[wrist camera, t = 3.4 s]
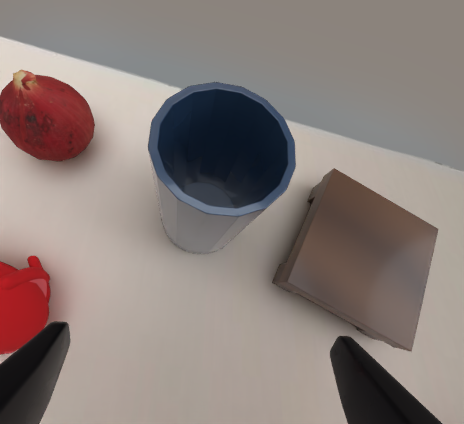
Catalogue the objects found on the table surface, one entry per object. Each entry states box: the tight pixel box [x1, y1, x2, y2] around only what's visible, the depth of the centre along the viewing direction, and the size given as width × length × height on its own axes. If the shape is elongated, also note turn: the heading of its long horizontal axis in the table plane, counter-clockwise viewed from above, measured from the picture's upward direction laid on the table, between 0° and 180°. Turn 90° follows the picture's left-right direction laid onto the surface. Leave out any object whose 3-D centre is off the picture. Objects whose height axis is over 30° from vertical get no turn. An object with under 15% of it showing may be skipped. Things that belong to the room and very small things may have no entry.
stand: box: [272, 168, 438, 351], centre depth 24 cm, size 11×11×4 cm
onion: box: [0, 70, 95, 161], centre depth 20 cm, size 6×6×8 cm
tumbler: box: [148, 82, 296, 254], centre depth 18 cm, size 7×7×12 cm
